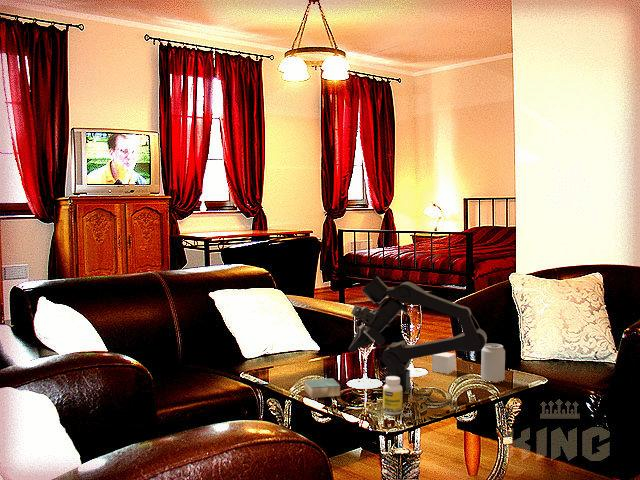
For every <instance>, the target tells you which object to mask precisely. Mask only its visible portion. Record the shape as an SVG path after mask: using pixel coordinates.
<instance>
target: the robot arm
mask: <svg viewBox="0 0 640 480" xmlns="http://www.w3.org/2000/svg"><path fill="white" fill-rule="evenodd" d="M361 292H362V293H363V294H364V295H365V296H366V297H367V298H368V299H369V300H370V301H371V302H372V303H373V304H377V303H378V304H379V306H378V308H377V309H375V308H373V309H371V310H370V308H368V307H366V306H363V307H361V306H359V305H357V304H354V306H353V307H352V308H353V309H352V311H351V315H352V316H353V317H355V318H361V319H358V320H357V321H355V319H354V320H353V322H354V321H355V322H354V323H355V325H356V334H355V337H354V338H353V340H352V342H351V344H350V345H349V347H348V350H349V352H354V351H357V350H360V349H362V348H364V347H367V346H369V345H373V344H375V343H377V345H378V346H380V347H382V346H383V345H384V343H386V338H385V337H384V335H383V334H382V331H383V330H384V329H385V328H386V327H390V326H391V325H392V324H391V322H392V321H393V320H394V319H395V318H396V317H397V316H398V315H399V314H400V313H401V312H403V313H404V314H405V315H407V314H408V307H409V305H413V306H414V305H415V306H416V305H417V306H422V307H425V308H427V309H431V310H434V311H436V312H439V313H441V314H444V315H446V316H449V317H452V318H454V319H457V320H458V321H459V323H460V326H461V329H462V333H460V334H458V335H456V336H452V337H451V336H450V337H448V338H447V337H446V338H442V339H436V340H432V341H431V340H430V341H426V342H422V343H416V344H406V340H401V341H399V342H398V341H397V342H395V341H394V342H392V343H391V344H389V346H387V348H386V349H384V350H383V352H382V353H381V361H382V364H384V365H385V366H386V368H387V369H386V370H387V373H386V374H385V378H386V377H388V376H397V377H399V378H400V384H399V385H401V386H402V394H405V393H407V392H408V391H410V390H411V389H413V388H412V386H411V383H410V382H411V381H410V380H411V378H410V377H411V370H410V369H408V368H409V367H410V364H411V360H413V359H419V358H422V357H423V358H425V357H429V356H432V355H435V354H440V353H445V352H447V353H452V352H455V351H456V352H457V351H458V352H459V351H460V352H481V351H482V349H483V347H484V346H485V344H487V339H488V337H487V334H486V332H485V331H484V329H481V327H480V326H479V324H478V321H477V320H476V319H475V317H474V315H473V313H472V311H471V308H470V307H467V306H466V305H465V306H463V305H460V304H458V303H455V302H454V301H450V300H447V299H445V298H442V297H439V296H437V295H434V294H431V293H429V292H427V291H426V290H424V289H423V288H422V287H420V286H418V285H417V284H414V283H413V282H411V281H404V282H402V283H401V284H399V285H398V286H391V287H388V285H386V284H385V282H383V281H382V279H381V278H380V277H379V276H375V277H374V278H373V279H372V280H371V281H369V283H367V284H366V285H365V286H364V288H362V290H361ZM386 298H387V299H386ZM385 299H386V300H385ZM395 299H396V300H395ZM382 302H383V303H382ZM362 320H363V321H364V322H365V323H366V326H365V325H364V324H363V323H361V325H360V326H358V325H357V323H359V322H360V321H362ZM374 341H375V342H374ZM386 384H387V383H386V382H385V385H386Z"/></svg>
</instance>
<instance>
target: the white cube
mask: <svg viewBox="0 0 640 480" xmlns="http://www.w3.org/2000/svg"><path fill="white" fill-rule="evenodd" d="M431 356H432V357H431V372H432V371H434V372H433V373H437V372H440V373H439V374H442V373H446V374H445V375H450V374H451V373H450V372H452V371H454V370H455V371H456V366H457V365H456V362H457V361H456V360H457V359H456V358H457V357H456V356H457V354H456V353H452V352H445V353H440V354H435V355H431ZM455 371H454V372H455ZM449 373H450V374H449ZM452 373H453V372H452Z"/></svg>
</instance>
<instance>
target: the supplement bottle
mask: <svg viewBox="0 0 640 480" xmlns="http://www.w3.org/2000/svg"><path fill="white" fill-rule="evenodd" d="M386 383H387V384H386ZM399 384H400V378H399V377H397V376H388V377H386V376H385V384H384V385H383V388H382V412H383V413H384V414H386V415H393V416H394V415H400V414H401V413H402V412H403V393H402V386H401V385H399Z"/></svg>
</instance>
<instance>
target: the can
mask: <svg viewBox="0 0 640 480" xmlns="http://www.w3.org/2000/svg"><path fill="white" fill-rule="evenodd" d="M480 354H481V355H480V356H481V358H480V359H481V360H480V362H481V363H480V364H481V365H480V379H481V380H482V381H483V380H486V381H493V382H498V381H502V382H504V381H505V378H506V377H505V373H506V372H505V370H506V369H505V368H506V367H505V366H506V350H505V348H504V345H502V344H499V343H485V346H484V347H483V349H481V353H480ZM503 380H504V381H503Z"/></svg>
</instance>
